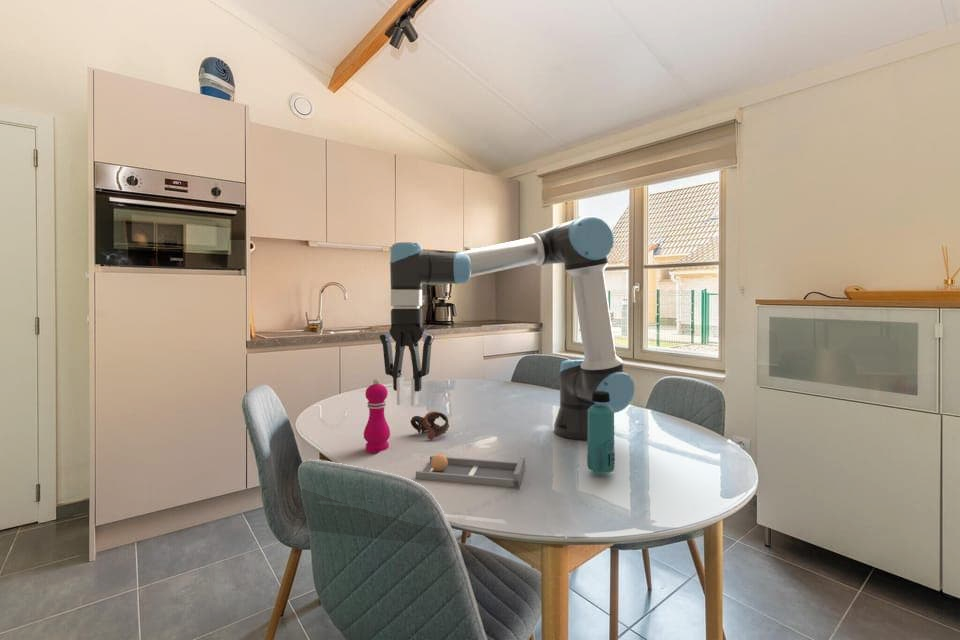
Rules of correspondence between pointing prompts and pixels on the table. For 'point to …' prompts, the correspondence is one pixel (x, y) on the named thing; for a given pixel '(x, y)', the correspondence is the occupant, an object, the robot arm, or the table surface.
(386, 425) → the pepper mill
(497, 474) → the lane
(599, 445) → the beverage bottle
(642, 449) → the table surface
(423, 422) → the brown pretzel knot
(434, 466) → the ball
